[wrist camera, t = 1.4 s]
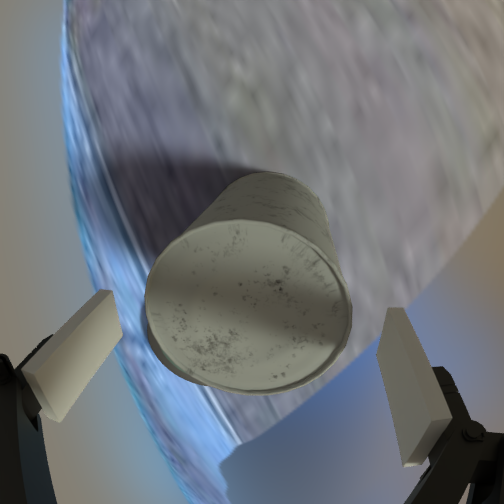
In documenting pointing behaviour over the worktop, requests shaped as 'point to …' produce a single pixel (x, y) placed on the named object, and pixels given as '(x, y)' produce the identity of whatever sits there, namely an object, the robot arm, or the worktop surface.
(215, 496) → the worktop surface
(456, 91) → the worktop surface
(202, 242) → the grey marble cylinder
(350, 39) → the worktop surface
